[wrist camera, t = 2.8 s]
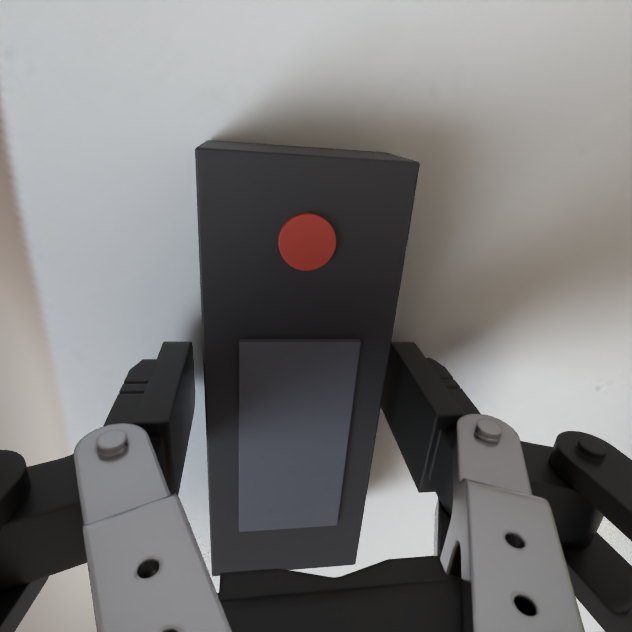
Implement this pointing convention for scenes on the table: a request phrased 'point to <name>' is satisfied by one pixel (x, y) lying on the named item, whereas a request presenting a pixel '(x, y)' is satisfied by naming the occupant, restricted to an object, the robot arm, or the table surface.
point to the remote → (295, 342)
